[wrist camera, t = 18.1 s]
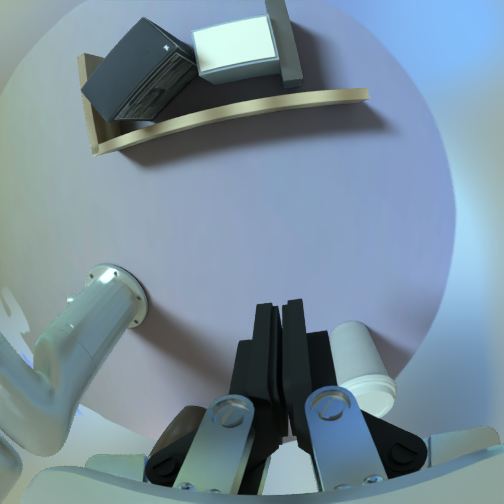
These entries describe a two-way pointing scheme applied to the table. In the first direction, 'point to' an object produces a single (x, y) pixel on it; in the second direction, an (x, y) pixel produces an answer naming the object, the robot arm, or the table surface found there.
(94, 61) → the curved wooden plank
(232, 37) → the pale grey block
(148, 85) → the small box
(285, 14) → the bookend
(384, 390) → the coffee cup
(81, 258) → the table surface
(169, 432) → the plant pot
